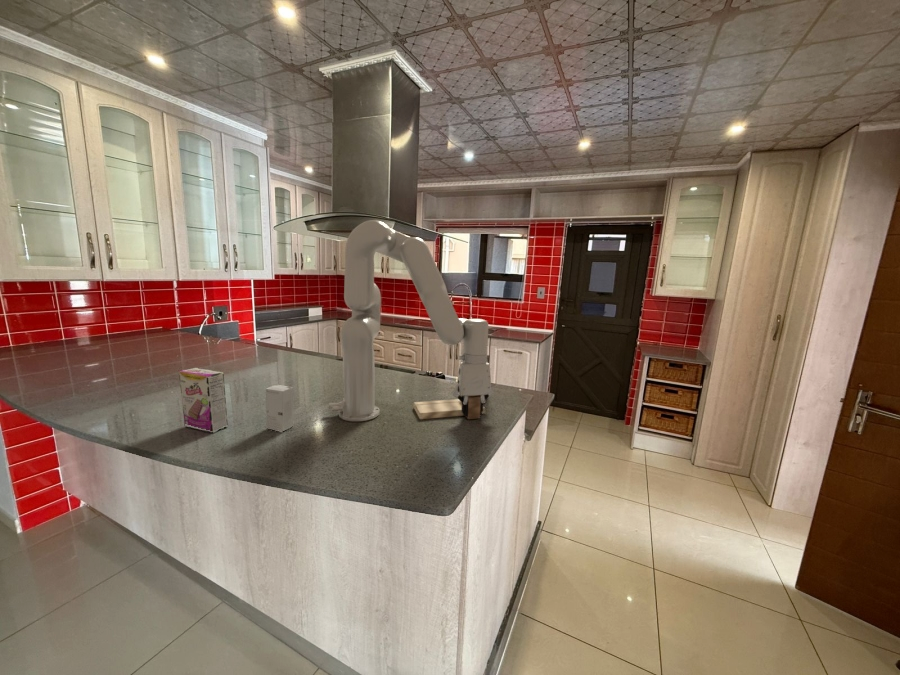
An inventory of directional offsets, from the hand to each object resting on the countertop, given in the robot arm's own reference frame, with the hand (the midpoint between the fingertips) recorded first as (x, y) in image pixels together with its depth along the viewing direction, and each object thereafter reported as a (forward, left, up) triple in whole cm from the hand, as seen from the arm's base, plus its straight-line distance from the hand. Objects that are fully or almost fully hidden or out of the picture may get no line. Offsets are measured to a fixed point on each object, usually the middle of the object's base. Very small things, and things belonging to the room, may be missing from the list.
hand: (472, 413), depth 110 cm
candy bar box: (-77, +9, -1) cm, 77 cm away
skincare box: (-57, +4, -1) cm, 57 cm away
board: (-6, +7, -1) cm, 9 cm away
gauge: (0, +4, -1) cm, 4 cm away
